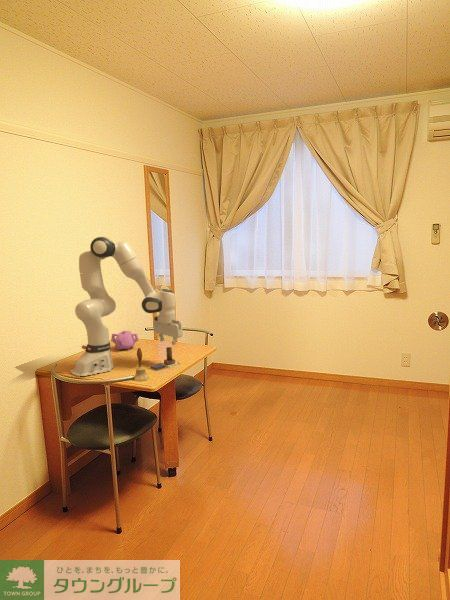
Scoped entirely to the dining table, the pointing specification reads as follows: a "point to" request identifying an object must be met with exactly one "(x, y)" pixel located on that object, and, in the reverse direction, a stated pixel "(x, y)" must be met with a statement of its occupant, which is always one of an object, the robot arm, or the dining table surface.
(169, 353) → the stamp
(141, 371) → the hand bell
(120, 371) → the dining table surface
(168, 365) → the marked card
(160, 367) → the ink pad
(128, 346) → the pot
